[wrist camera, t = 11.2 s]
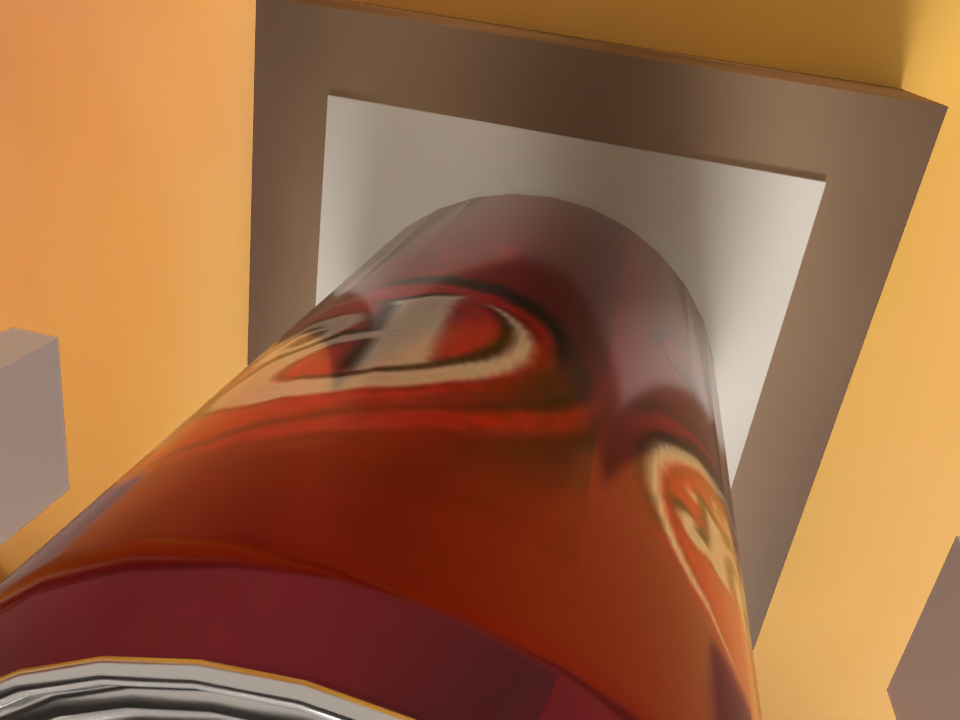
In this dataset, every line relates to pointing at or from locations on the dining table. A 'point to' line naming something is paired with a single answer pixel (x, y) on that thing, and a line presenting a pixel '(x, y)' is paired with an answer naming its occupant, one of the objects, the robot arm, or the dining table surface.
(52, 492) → the robot arm
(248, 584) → the soda can
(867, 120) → the picture frame
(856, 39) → the dining table surface
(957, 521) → the dining table surface
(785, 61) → the dining table surface
